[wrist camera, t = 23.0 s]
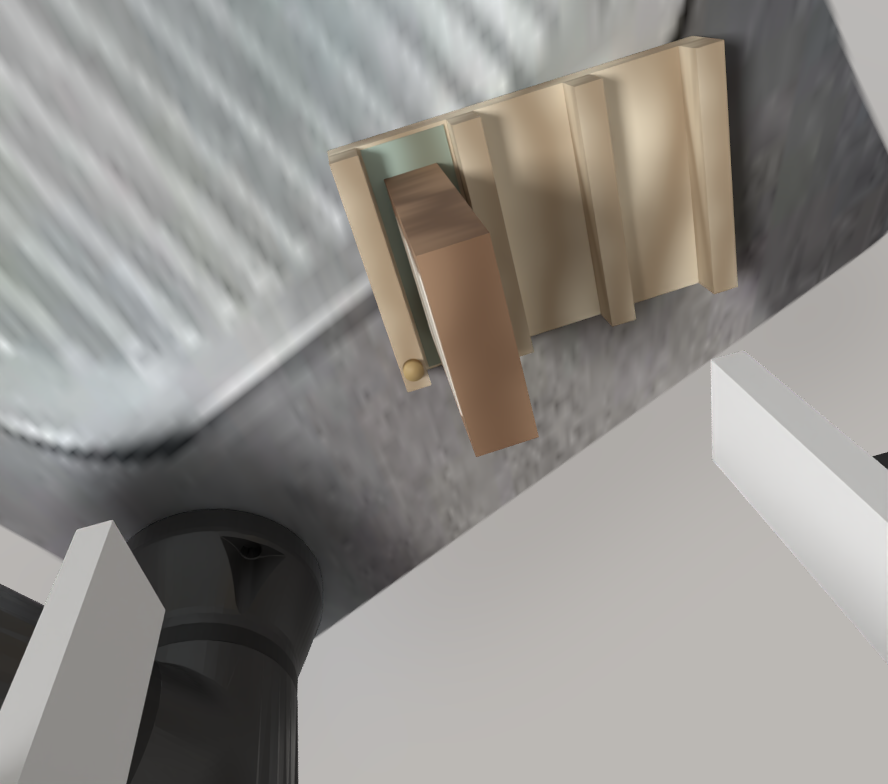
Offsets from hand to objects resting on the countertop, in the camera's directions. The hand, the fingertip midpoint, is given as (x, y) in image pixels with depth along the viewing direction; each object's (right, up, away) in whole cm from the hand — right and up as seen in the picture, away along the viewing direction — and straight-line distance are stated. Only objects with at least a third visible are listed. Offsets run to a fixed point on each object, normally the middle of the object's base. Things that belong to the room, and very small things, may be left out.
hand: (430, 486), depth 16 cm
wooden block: (0, +10, +26) cm, 28 cm away
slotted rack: (+6, +13, +27) cm, 31 cm away
